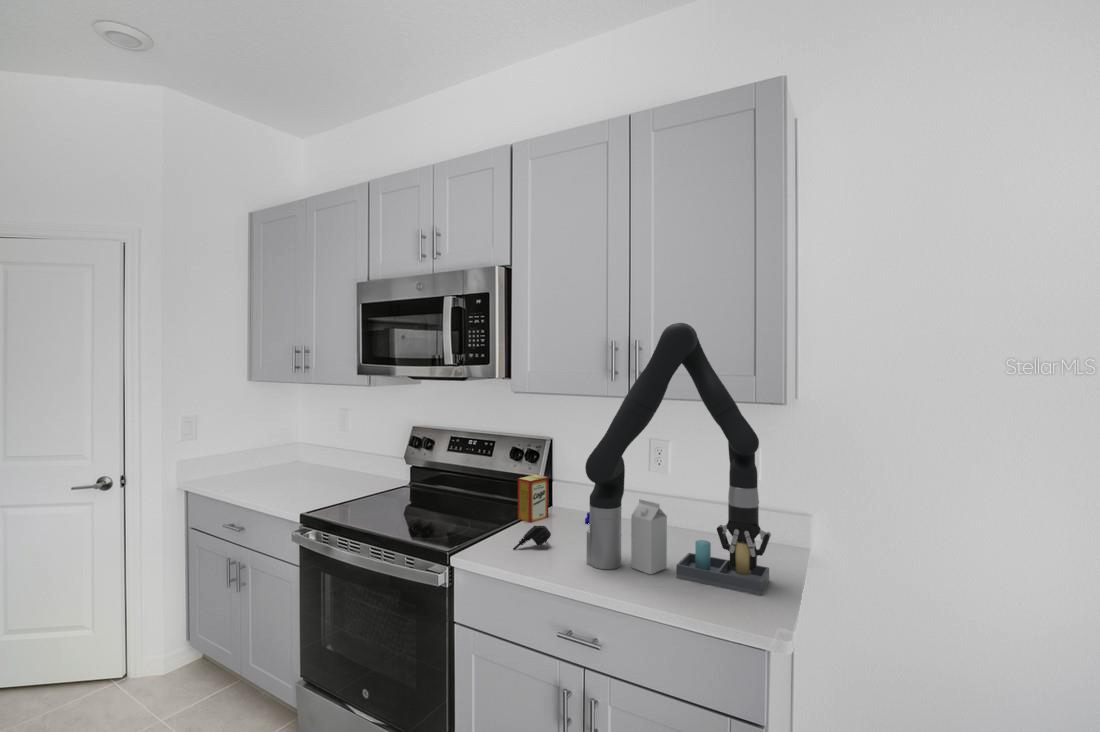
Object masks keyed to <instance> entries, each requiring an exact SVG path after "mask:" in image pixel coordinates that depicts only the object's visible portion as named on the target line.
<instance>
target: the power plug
mask: <svg viewBox="0 0 1100 732" xmlns="http://www.w3.org/2000/svg"><path fill="white" fill-rule="evenodd" d="M551 536H552V533H551V531H550V530H549V529H548V528H547V527H546V526H545V525H534V526H532V527H531V528H530V529H529V530H528V531H527V532H526V533H525V534H524V535H523V536H522V537H521V539H520V540H519V541H518V544H516V545H515V546H514V547H513V548H512V549H513V551H515V550H517V548H519V547H520V546H523V545H524V544H526V543H527V542H528V541H530V540H532V541H533V542H534V543H535V544H536V546H542V545H543V544H546V545H547V547H549V548H550V547H551V544H550V542H549V541H548V540H549V539H550V538H551Z"/></svg>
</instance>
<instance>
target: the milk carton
mask: <svg viewBox="0 0 1100 732" xmlns="http://www.w3.org/2000/svg"><path fill="white" fill-rule="evenodd" d="M638 501H639V502H638V503H637V505H636V507H635V509H634V511H633V512H632V513H631V522H630V523H631V524H630V525H631V531H630V532H631V533H630V536H631V538H630V539H631V547H630V549H631V557H630V558H631V560H630V562H631V565H630V566H631V568H632V569H635V570H638V571H640V572H642V573H645V574H648V575H654V574H656V573H658V572H660V571H661V572H662V571H663V570H666V569H667V568H668V567H667V562H668V561H667V560H668V559H667V557H668V556H667V552H668V550H667V547H668V545H667V541H668V539H667V538H668V536H667V535H668V533H667V532H668V529H667V528H668V527H667V526H668V525H667V524H668V515H667V514H666V513H665V512H664V511H663V510H662V508H660V503H657V502H654V501H649V500H644V499H641V498H640V499H638Z"/></svg>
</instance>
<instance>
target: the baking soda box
mask: <svg viewBox="0 0 1100 732" xmlns="http://www.w3.org/2000/svg"><path fill="white" fill-rule="evenodd" d="M518 518H519V519H521V520H520V521H523V522H525V523H529V524H531V523H534V522H538V521H542V520H545V519H548V518H549V476H545V475H540V474H533V475H527V476H524V477H519V478H517V519H518ZM519 519H518V520H519Z"/></svg>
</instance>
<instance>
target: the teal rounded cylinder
mask: <svg viewBox="0 0 1100 732" xmlns="http://www.w3.org/2000/svg"><path fill="white" fill-rule="evenodd" d="M694 544H695V549H694V550H695V553H694V554H695V568H699V569H704V570H709V571H710V564H711V557H712V556H711V555H712V554H711V553H712V552H711V550H712V549H711V547H712V545H711V542H710V541H708V540H704V539H698V540H695V543H694Z"/></svg>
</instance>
